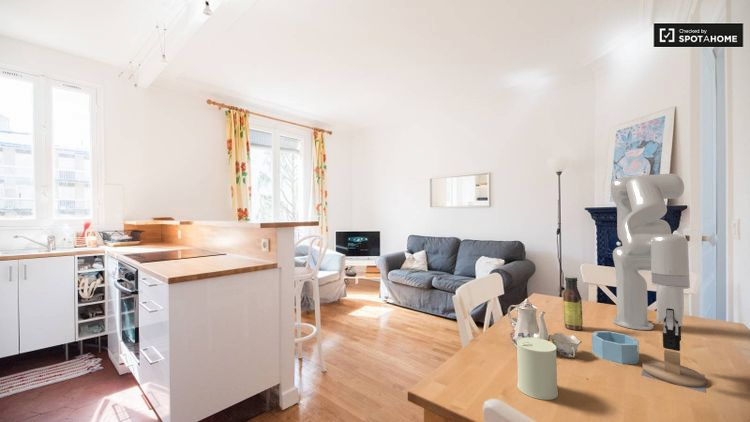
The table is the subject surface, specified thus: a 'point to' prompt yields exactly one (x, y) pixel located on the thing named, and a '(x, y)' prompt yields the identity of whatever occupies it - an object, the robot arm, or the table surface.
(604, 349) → the bowl
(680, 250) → the robot arm
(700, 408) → the table surface
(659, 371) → the lid
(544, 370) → the can
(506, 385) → the table surface
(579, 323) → the sauce bottle
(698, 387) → the mat
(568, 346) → the chinaware
